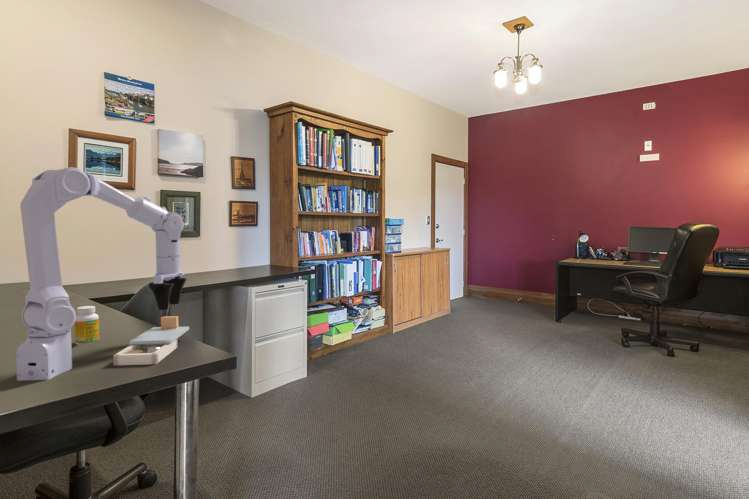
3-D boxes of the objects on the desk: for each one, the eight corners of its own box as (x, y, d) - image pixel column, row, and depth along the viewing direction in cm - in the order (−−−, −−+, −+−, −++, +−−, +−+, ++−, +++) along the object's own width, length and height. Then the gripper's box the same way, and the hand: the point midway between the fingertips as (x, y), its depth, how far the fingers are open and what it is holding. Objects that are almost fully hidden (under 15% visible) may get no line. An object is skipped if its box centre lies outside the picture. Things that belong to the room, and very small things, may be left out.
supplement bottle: (86, 346, 107) (85, 309, 106) (69, 344, 108) (68, 308, 107) (104, 340, 112) (103, 305, 112) (88, 339, 113) (86, 304, 113)
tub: (156, 367, 91) (156, 354, 91) (113, 368, 90) (113, 355, 90) (177, 349, 104) (177, 338, 104) (140, 350, 103) (140, 339, 103)
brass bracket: (137, 362, 92) (137, 354, 92) (123, 363, 92) (123, 354, 91) (143, 358, 95) (143, 350, 95) (129, 358, 95) (129, 350, 94)
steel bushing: (153, 358, 95) (153, 349, 95) (144, 356, 96) (144, 348, 96) (163, 354, 98) (163, 346, 98) (154, 353, 99) (154, 345, 99)
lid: (170, 343, 99) (170, 328, 99) (129, 344, 98) (128, 328, 98) (189, 329, 112) (188, 315, 112) (153, 330, 111) (152, 316, 111)
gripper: (173, 258, 103) (174, 311, 103) (192, 254, 117) (193, 301, 118) (144, 258, 102) (145, 312, 103) (166, 254, 116) (167, 301, 117)
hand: (169, 306), depth 110 cm, fingers open, 7 cm apart
